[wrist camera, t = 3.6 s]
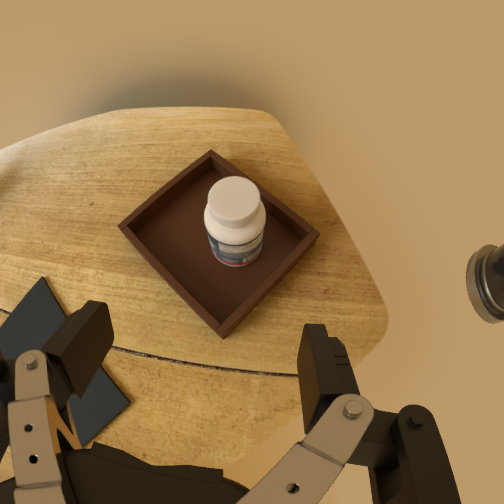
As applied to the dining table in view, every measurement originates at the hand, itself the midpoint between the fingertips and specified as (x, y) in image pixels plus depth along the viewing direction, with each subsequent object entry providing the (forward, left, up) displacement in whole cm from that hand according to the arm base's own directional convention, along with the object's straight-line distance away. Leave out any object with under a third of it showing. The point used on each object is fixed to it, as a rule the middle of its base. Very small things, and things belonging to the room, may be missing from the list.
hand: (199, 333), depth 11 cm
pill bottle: (+7, -9, -16) cm, 20 cm away
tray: (+9, -8, -16) cm, 20 cm away
